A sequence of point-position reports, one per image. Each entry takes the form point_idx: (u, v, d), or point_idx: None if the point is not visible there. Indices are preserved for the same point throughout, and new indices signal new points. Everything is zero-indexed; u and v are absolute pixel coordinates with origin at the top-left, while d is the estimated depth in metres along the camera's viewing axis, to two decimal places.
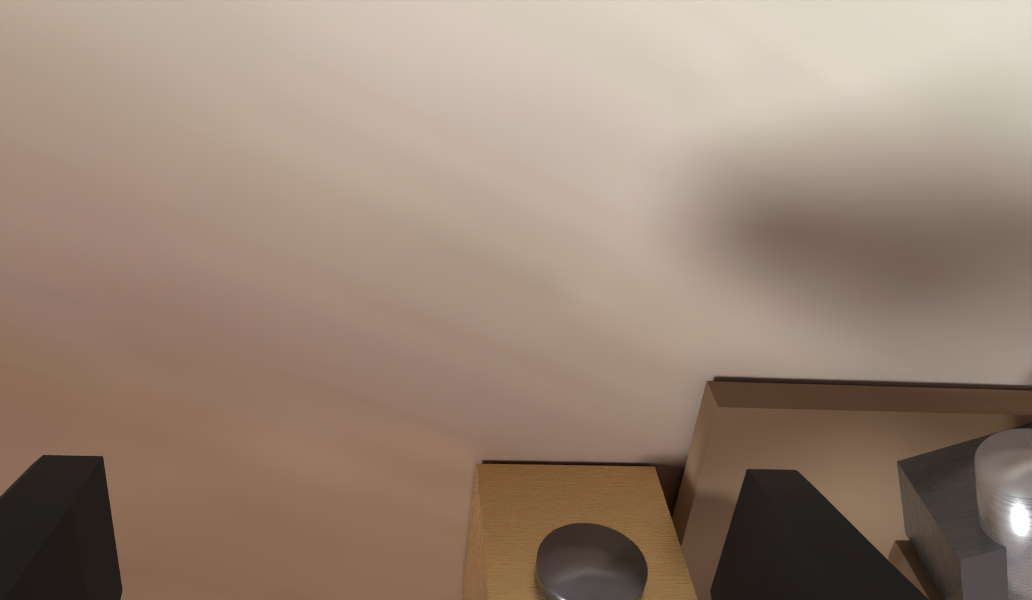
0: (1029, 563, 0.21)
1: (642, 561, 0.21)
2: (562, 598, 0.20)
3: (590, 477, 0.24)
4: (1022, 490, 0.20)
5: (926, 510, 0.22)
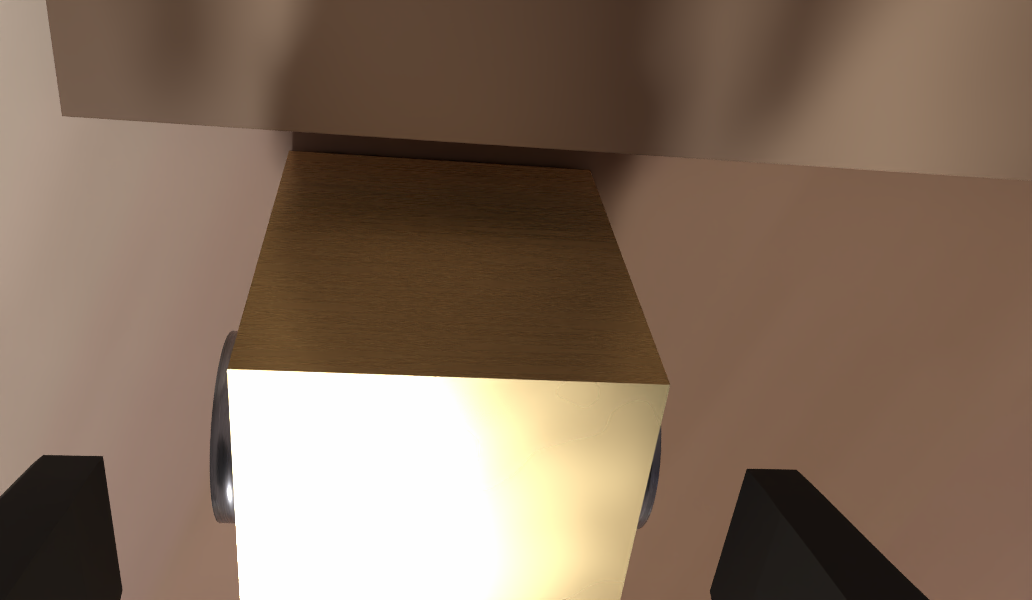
0: None
1: (224, 351, 0.12)
2: (222, 522, 0.12)
3: None
4: None
5: None
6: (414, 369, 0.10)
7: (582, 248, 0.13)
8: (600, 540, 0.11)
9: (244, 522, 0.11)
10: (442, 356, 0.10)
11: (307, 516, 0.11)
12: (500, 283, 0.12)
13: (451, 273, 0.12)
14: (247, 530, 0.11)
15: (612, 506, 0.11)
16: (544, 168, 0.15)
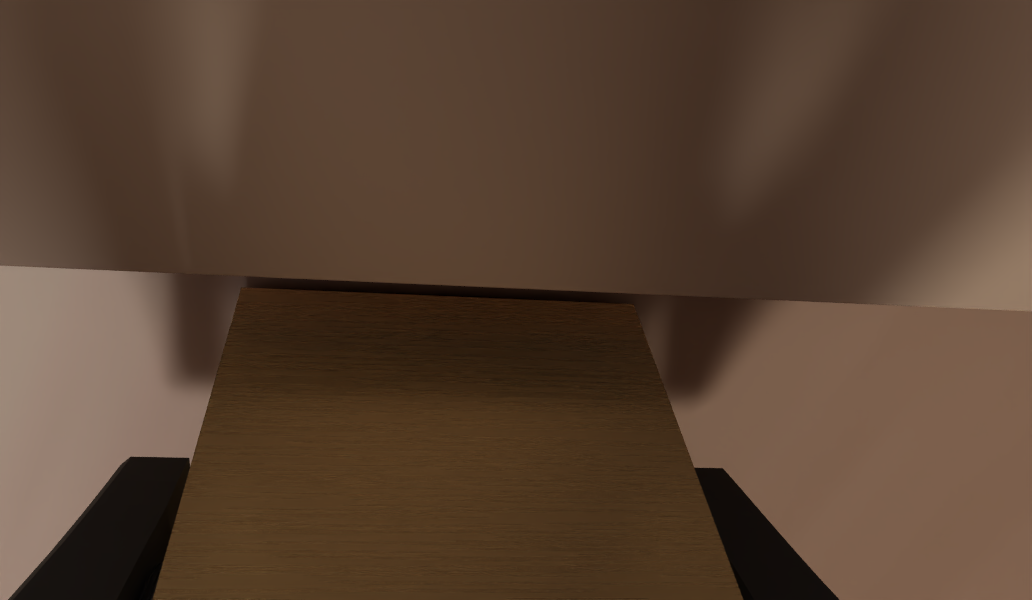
0: None
1: None
2: None
3: None
4: None
5: None
6: None
7: (634, 444, 0.09)
8: None
9: None
10: None
11: None
12: (526, 520, 0.08)
13: (459, 504, 0.08)
14: None
15: None
16: (574, 303, 0.11)
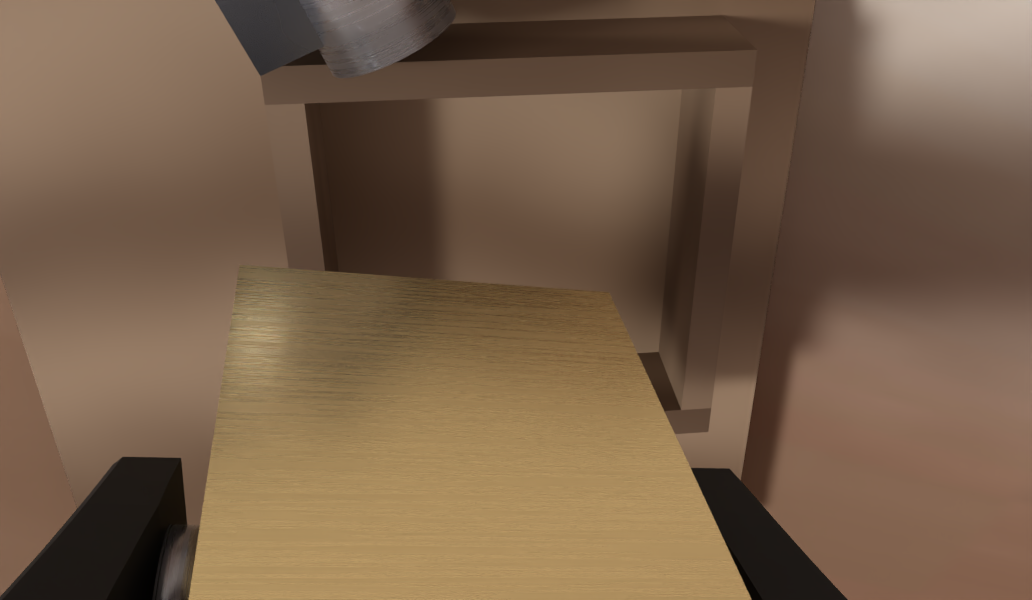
0: None
1: (158, 568, 0.09)
2: None
3: None
4: None
5: None
6: None
7: (622, 418, 0.10)
8: None
9: None
10: None
11: None
12: (533, 483, 0.09)
13: (469, 467, 0.09)
14: None
15: None
16: (555, 288, 0.12)
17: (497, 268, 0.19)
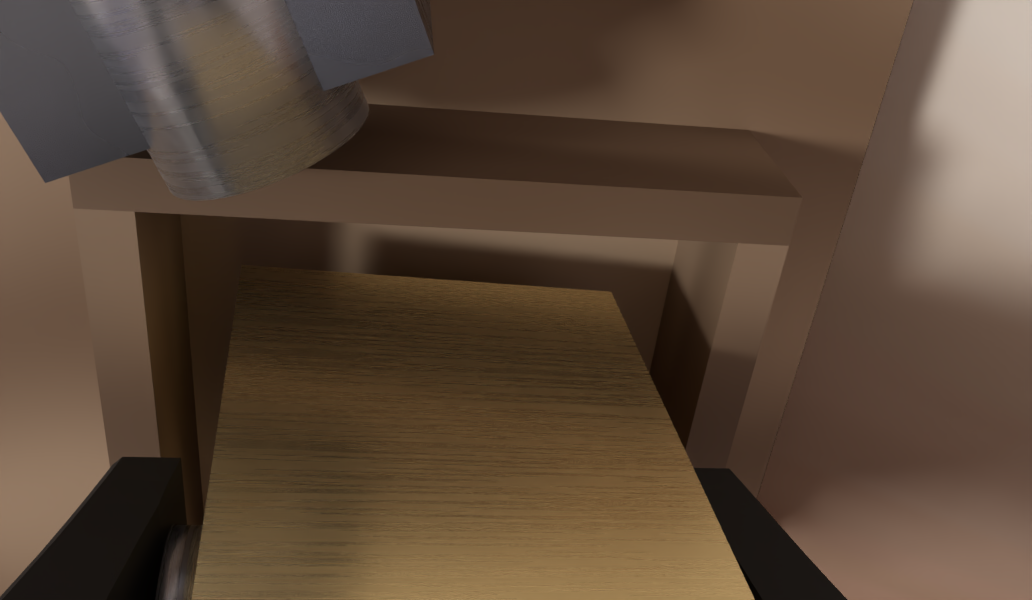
0: None
1: (160, 568, 0.09)
2: None
3: None
4: None
5: None
6: None
7: (625, 417, 0.10)
8: None
9: None
10: None
11: None
12: (534, 482, 0.09)
13: (471, 467, 0.09)
14: None
15: None
16: None
17: None
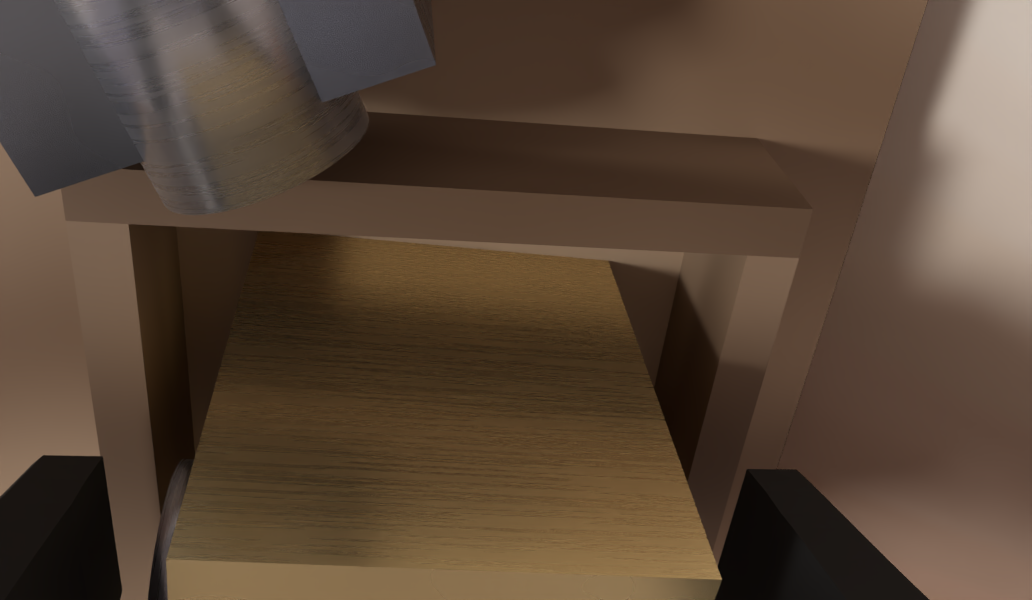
0: None
1: (168, 493, 0.10)
2: None
3: None
4: None
5: None
6: (407, 558, 0.08)
7: (604, 371, 0.11)
8: None
9: None
10: (440, 538, 0.08)
11: None
12: (508, 424, 0.10)
13: (451, 409, 0.10)
14: None
15: None
16: (556, 256, 0.13)
17: None
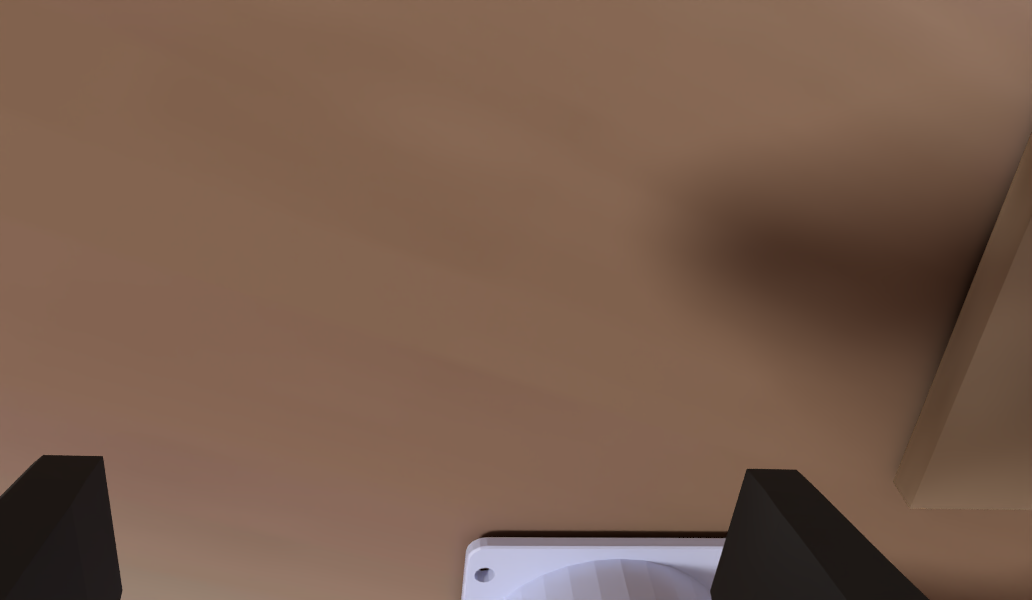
0: None
1: None
2: None
3: None
4: None
5: None
6: None
7: None
8: None
9: None
10: None
11: None
12: None
13: None
14: None
15: None
16: None
17: None
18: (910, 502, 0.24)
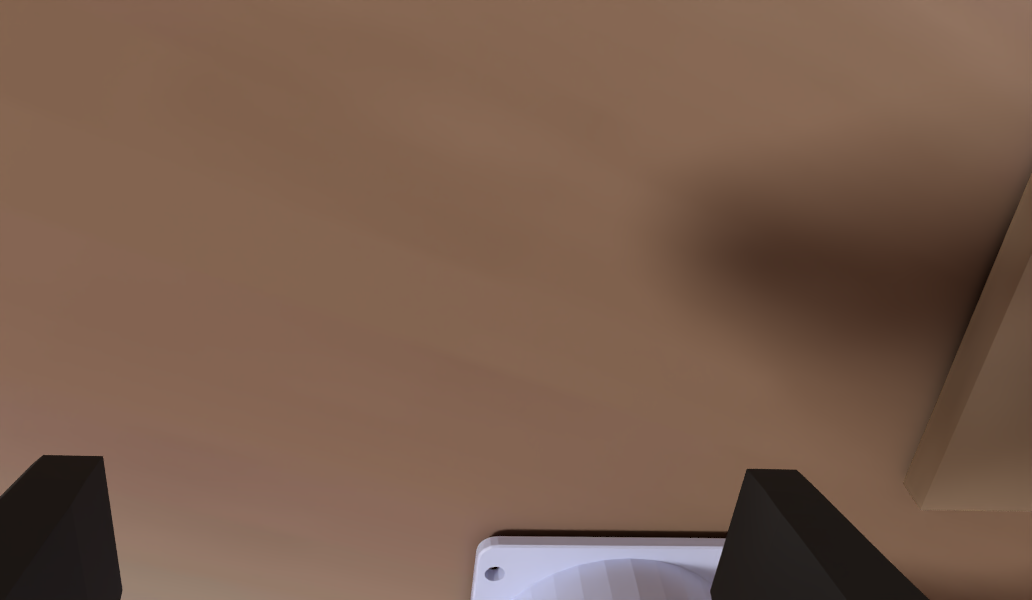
0: None
1: None
2: None
3: None
4: None
5: None
6: None
7: None
8: None
9: None
10: None
11: None
12: None
13: None
14: None
15: None
16: None
17: None
18: (920, 503, 0.24)
